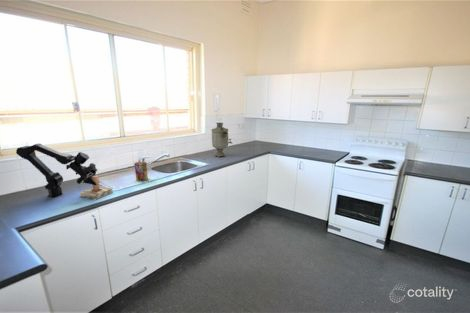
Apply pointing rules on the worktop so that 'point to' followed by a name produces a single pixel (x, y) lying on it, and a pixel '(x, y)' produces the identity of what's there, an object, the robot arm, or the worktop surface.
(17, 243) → the worktop surface
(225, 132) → the samovar
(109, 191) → the pocket block
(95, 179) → the terracotta peg
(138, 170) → the candy box
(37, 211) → the worktop surface
